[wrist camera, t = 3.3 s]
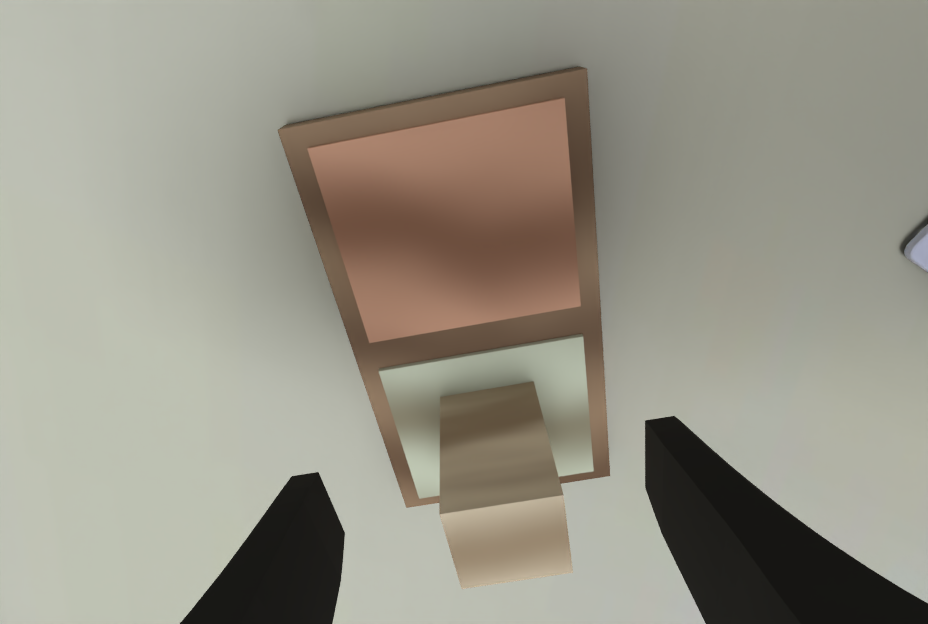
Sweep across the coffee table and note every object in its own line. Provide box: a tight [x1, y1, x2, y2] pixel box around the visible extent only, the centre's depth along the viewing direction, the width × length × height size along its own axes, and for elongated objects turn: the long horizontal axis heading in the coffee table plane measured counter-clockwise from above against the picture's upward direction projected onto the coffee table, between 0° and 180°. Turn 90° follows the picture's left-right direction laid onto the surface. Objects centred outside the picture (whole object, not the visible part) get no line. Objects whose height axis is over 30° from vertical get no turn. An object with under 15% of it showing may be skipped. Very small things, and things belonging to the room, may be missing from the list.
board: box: [278, 67, 610, 508], centre depth 21 cm, size 18×10×1 cm, turn 10°
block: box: [440, 381, 573, 589], centre depth 20 cm, size 4×4×6 cm
